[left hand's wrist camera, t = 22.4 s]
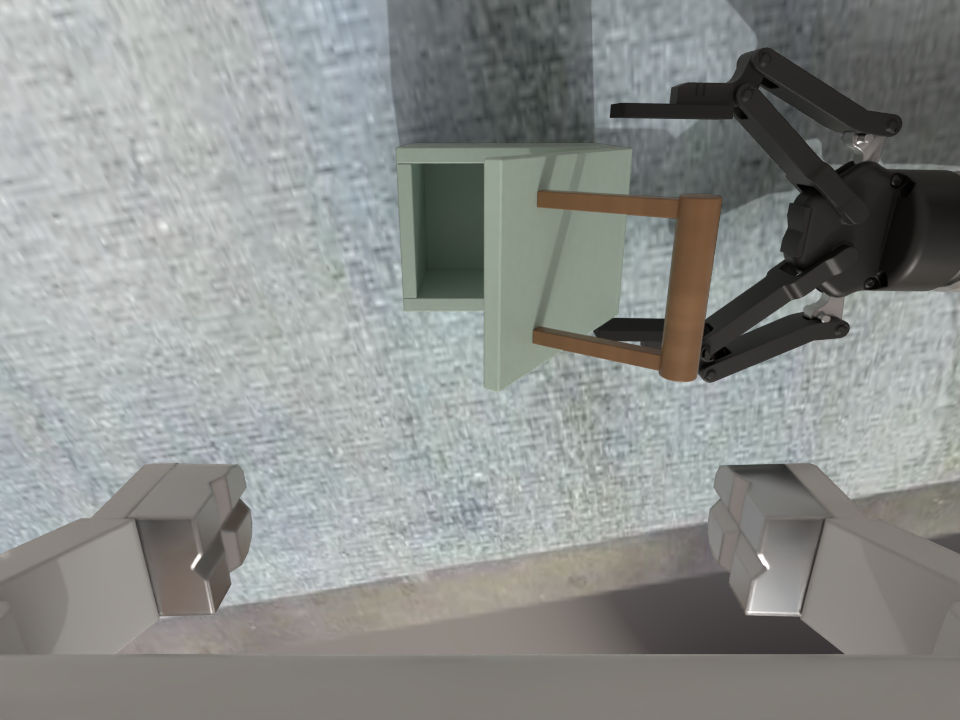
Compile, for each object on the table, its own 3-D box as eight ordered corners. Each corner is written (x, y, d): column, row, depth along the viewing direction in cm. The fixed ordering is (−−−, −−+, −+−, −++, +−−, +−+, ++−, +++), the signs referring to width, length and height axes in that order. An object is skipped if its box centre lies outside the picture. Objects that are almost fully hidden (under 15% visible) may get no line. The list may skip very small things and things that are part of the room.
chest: (417, 277, 46) (403, 311, 38) (412, 143, 43) (395, 147, 34) (586, 276, 46) (610, 311, 38) (595, 142, 43) (624, 147, 34)
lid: (482, 388, 27) (668, 439, 22) (482, 157, 23) (703, 164, 19) (606, 312, 37) (746, 336, 33) (619, 147, 34) (778, 150, 30)
